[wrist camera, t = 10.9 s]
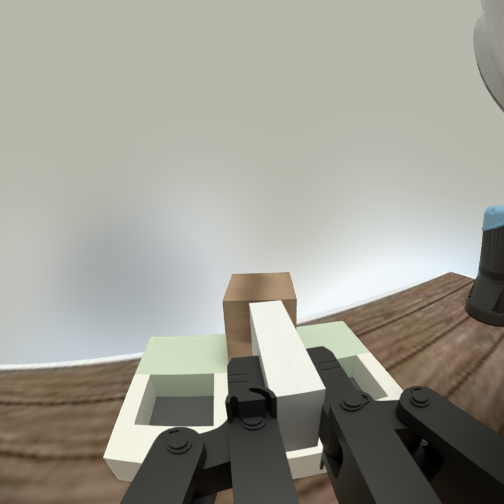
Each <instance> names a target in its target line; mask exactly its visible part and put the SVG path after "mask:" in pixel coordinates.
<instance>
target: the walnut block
mask: <svg viewBox="0 0 504 504" xmlns="http://www.w3.org/2000/svg"><path fill="white" fill-rule="evenodd" d="M278 300H281V301H282V303H283V305H284V307H285V309H286V311H287V313H288V315H289V317H290V319H291V321H292V323H293V325H294V327H295V329H296V306H297V299H296V295H295V291H294V288H293V284H292V280H291V277H290V273H289V272H286V273H285V272H284V273H257V274H256V273H255V274H232V277H231V280H230V282H229V285H228V288H227V290H226V293H225V296H224V299H223V310H224V321H225V333H226V343H227V353H228V362H230V360H231V359H232V358H236V357H248V356H253V353H252V339H251V324H250V309H249V303H258V302H268V301H278Z"/></svg>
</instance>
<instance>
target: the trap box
mask: <svg viewBox="0 0 504 504" xmlns="http://www.w3.org/2000/svg"><path fill="white" fill-rule="evenodd" d="M296 331H297V333H298V335H299V337H300V339H301V341H302V343H303V345H304V347H305V349H306V348H313V347H319V346H324V347H325V348H327V349H329V350H330V351H332V352H333V354H334V355H335V357H336V358H337V361H339V363H340V365H341V367H342V368H343V369H344V371H345V372H346V374H347V375H348V377H349V379H350V380H351V382H352V383H353V385H354V386H355V388H356V390H361V391H363V392H366V393H368V394H369V395H370V396H371V397H372V398H373V399H374V400H378V401H386V400H399V398H400V396H401V393H402V392H403V390H402V389H401V388H400V387H399V385H398V384H397V383H396V382H395V381H394V380H393V378H392V377H391V376H390V375H389V374H388V373H387V371H386V370H385V369H384V368H383V367H382V366H381V364H380V363H379V362H378V361H377V360H376V359H375V358H374V356H373V355H372V354H371V353H370V352H369V351H368V349H367V348H366V347H365V346H364V345H363V344H362V343H361V341H360V340H359V339H358V338H357V337H356V336H355V335H354V333H353V332H352V331H351V330H350V329H349V328H348V327H347V325H346V324H345V323H344V322H343V321H338V322H332V323H325V324H317V325H310V326H302V327H296ZM228 364H229V362H228V353H227V343H226V334H213V335H195V336H166V337H151V338H150V340H149V343H148V345H147V347H146V350H145V352H144V354H143V357H142V359H141V361H140V364H139V366H138V368H137V371H136V373H135V376H134V378H133V381H132V383H131V385H130V388H129V390H128V393H127V395H126V398H125V401H124V403H123V406H122V408H121V411H120V413H119V416H118V419H117V421H116V424H115V427H114V429H113V432H112V435H111V438H110V440H109V443H108V446H107V449H106V452H105V455H104V457H103V458H104V459H105V461H106V463H107V464H108V466H109V467H110V469H111V470H112V472H113V473H114V474H115V476H116V477H117V479H118V480H121V481H128V482H132V481H133V479H134V477H135V475H136V473H137V472H138V470H139V468H140V466H141V464H142V462H143V461H144V459H145V457H146V455H147V453H148V451H149V450H150V448H151V446H152V444H153V442H154V441H155V439H156V438H157V436H158V435H159V434H160V433H161V432H163V431H165V430H167V429H170V428H174V427H187V428H190V429H193V430H195V431H196V432H198V433H199V434H200V433H204V432H207V431H211V430H213V429H216V428H218V427H219V426H221V425H222V424H223V423H224V422H225V421H226V420H227V413H226V407H225V400H226V396H227V395H228V380H227V365H228ZM322 449H323V446H322V443H321V441H320V438H319V441H318V446H317V447H312V448H307V449H301V450H296V451H290V452H286V455H287V459H288V463H289V466H290V470H291V474H292V478H293V479H298V478H303V477H308V476H313V475H318V474H322V473H327V470H326V467H325V465H324V467H323V469H322V470H320V466H319V464H320V460H321V454H322Z"/></svg>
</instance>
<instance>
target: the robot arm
mask: <svg viewBox="0 0 504 504" xmlns="http://www.w3.org/2000/svg"><path fill="white" fill-rule="evenodd" d="M481 4H482V10H483V11H482V12H481V14H480V15H479V17H478V19H477V21H476V24H475V28H474V38H473V39H474V51H475V56H476V60H477V65H478V68H479V71H480V74H481V77H482V79H483V82H484V84H485V86H486V88H487V90H488V92H489V93H490V95H491V96H492V98H493V100H494V101H495V102H496V104H497V105H498V106H499V107H500V109H501V110H502V111H503V112H504V0H481ZM482 230H483V238H482V247H481V256H480V263H479V271H478V275H477V277H476V280H475V282H474V284H473V286H472V288H471V290H470V292H469V294H468V296H467V300H466V305H465V308H466V311H467V312H468V313H469V314H470V315H471V316H472V317H474V318H476V319H478V320H480V321H482V322H485V323H488V324H492V325H497V326H504V206H493V207H492V206H491V207H489V208H487V209H486V211H485V213H484V222H483V227H482ZM249 309H250V324H251V339H252V353H253V356H248V357H236V358H232V359H231V360H230V362H229V364H228V365H227V380H228V395H227V396H226V400H225V407H226V413H227V420H226V421H225V422H224V423H223V424H222V425H221V426H219V427H218V428H216V429H213V430H211V431H207V432H204V433H200V434H199V433H198V432H196V431H195V430H193V429H190V428H187V427H174V428H170V429H167V430H165V431H163V432H161V433H160V434H159V435H158V436H157V438H156V439H155V441H154V442H153V444H152V446H151V448H150V450H149V451H148V453H147V455H146V457H145V459H144V461H143V462H142V464H141V466H140V468H139V470H138V472H137V473H136V475H135V477H134V479H133V481H132V482H131V484H130V486H129V488H128V490H127V492H126V493H125V495H124V497H123V499H122V501H121V502H120V504H214V503H215V499H216V496H217V492H220V491H223V490H226V489H230V488H233V498H234V504H299V500H298V496H297V493H296V489H295V485H294V482H293V478H292V474H291V470H290V466H289V463H288V459H287V455H286V452H290V451H296V450H301V449H307V448H312V447H317V446H318V441H319V438H320V441H321V443H322V446H323V449H322V454H321V460H320V464H319V466H320V470H322V469H323V467H324V465H325V467H326V470H327V473H328V476H329V478H330V481H331V484H332V486H333V489H334V492H335V494H336V497H337V500H338V503H339V504H504V438H503V437H502V436H500V435H499V434H497V433H496V432H494V431H493V430H491V429H490V428H488V427H487V426H485V425H484V424H482V423H481V422H479V421H478V420H476V419H475V418H473V417H472V416H470V415H469V414H467V413H466V412H464V411H463V410H461V409H460V408H458V407H457V406H455V405H454V404H453V403H451V402H450V401H448V400H447V399H445V398H444V397H442V396H441V395H439V394H438V393H436V392H435V391H433V390H431V389H429V388H427V387H422V386H414V387H410V388H407V389H405V390H404V391H403V392H402V393H401V396H400V398H399V400H386V401H378V400H374V399H373V398H372V397H371V396H370V395H369V394H368V393H366V392H363V391H361V390H356V388H355V386H354V385H353V383H352V382H351V380H350V379H349V377H348V375H347V374H346V372H345V371H344V369H343V368H342V367H341V365H340V363H339V361H337V358H336V357H335V355H334V354H333V352H332V351H330V350H329V349H327V348H325V347H324V346H319V347H313V348H306V349H305V347H304V345H303V343H302V341H301V339H300V337H299V335H298V333H297V331H296V329H295V327H294V325H293V323H292V321H291V319H290V317H289V315H288V313H287V311H286V309H285V307H284V305H283V303H282V301H281V300H278V301H268V302H258V303H249ZM423 439H424V440H425V441H426V442H427V443H426V442H424V441H423Z"/></svg>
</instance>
